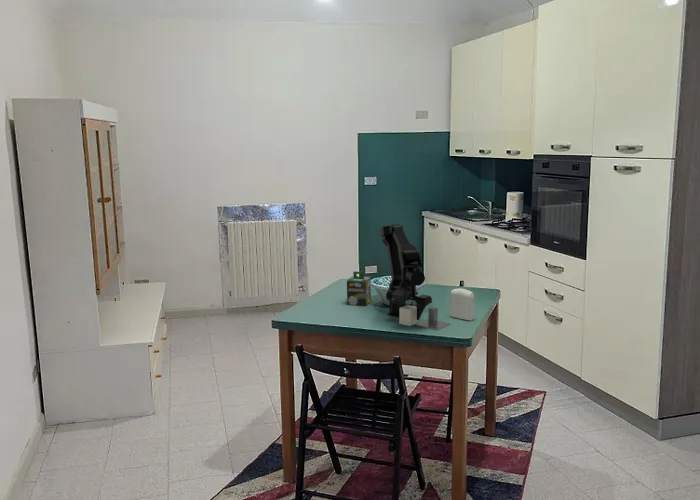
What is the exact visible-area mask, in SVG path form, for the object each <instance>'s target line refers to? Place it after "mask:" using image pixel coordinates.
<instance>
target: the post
mask: <svg viewBox="0 0 700 500" xmlns="http://www.w3.org/2000/svg"><path fill="white" fill-rule="evenodd" d="M438 311H439V310H438V307H434V306H431V307H429V308H428V315H427V316H428V317H427V318H428V319H425V320H423V321H421V322H417V323H416V324H414V326H415V327H420V328H424V329H429V330H434V331H439V330H441V329H444V328H445V327H448V326H451V323H449V322H445V321H440V320H438V317H439V316H438V315H439V314H438Z"/></svg>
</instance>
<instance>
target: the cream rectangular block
mask: <svg viewBox="0 0 700 500" xmlns="http://www.w3.org/2000/svg"><path fill="white" fill-rule="evenodd" d="M398 318H399V324H400V325H404V326H409V327H411V326H415V324H418V320H417V307H416V306H414V305H408V304H406V306H403V307H400V314H399V317H398Z"/></svg>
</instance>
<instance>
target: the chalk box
mask: <svg viewBox="0 0 700 500" xmlns="http://www.w3.org/2000/svg"><path fill="white" fill-rule="evenodd" d="M357 275H360V276H357ZM371 277H372V276H365V275H364V272H363V271H353V276H351V277H349V278H348V279H347V280H346V304H347V306H359V307H367V306H368V305H369V303H371V301H372V292H371V291H372V284H371V283H372V278H371Z"/></svg>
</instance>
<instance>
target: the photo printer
mask: <svg viewBox="0 0 700 500" xmlns="http://www.w3.org/2000/svg"><path fill="white" fill-rule="evenodd" d="M449 303H450V304H449V305H450V307H449V308H450V309H449V310H450V312H449V313H450V314H449V315H450V317H452V318H456V319H461V320H465V321H473V320H474V319H475V293H474V292H472V291H470V290H468V289H466V288H454V289H451V292H450V302H449Z"/></svg>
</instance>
